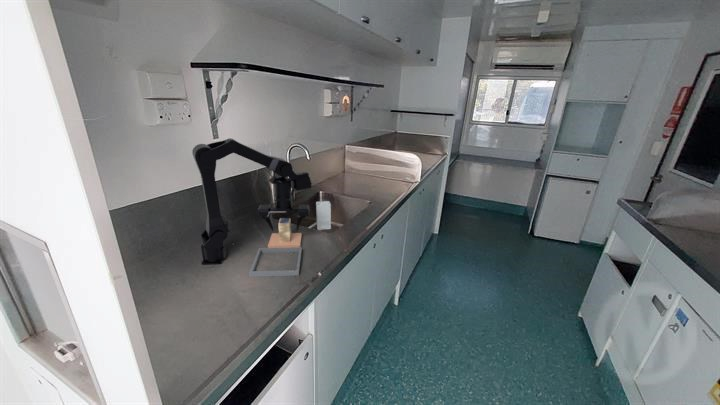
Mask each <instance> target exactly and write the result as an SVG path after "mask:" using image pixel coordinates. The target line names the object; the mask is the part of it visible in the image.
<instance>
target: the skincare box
mask: <svg viewBox="0 0 720 405" xmlns="http://www.w3.org/2000/svg"><path fill="white" fill-rule="evenodd" d="M315 207H316V208H315V212H316V213H315V214H316V228H317V230H318V231H321V230H331V229H332V209H331V208H332V204H331V202H330V201H329V200H323V201H316V202H315Z"/></svg>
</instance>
